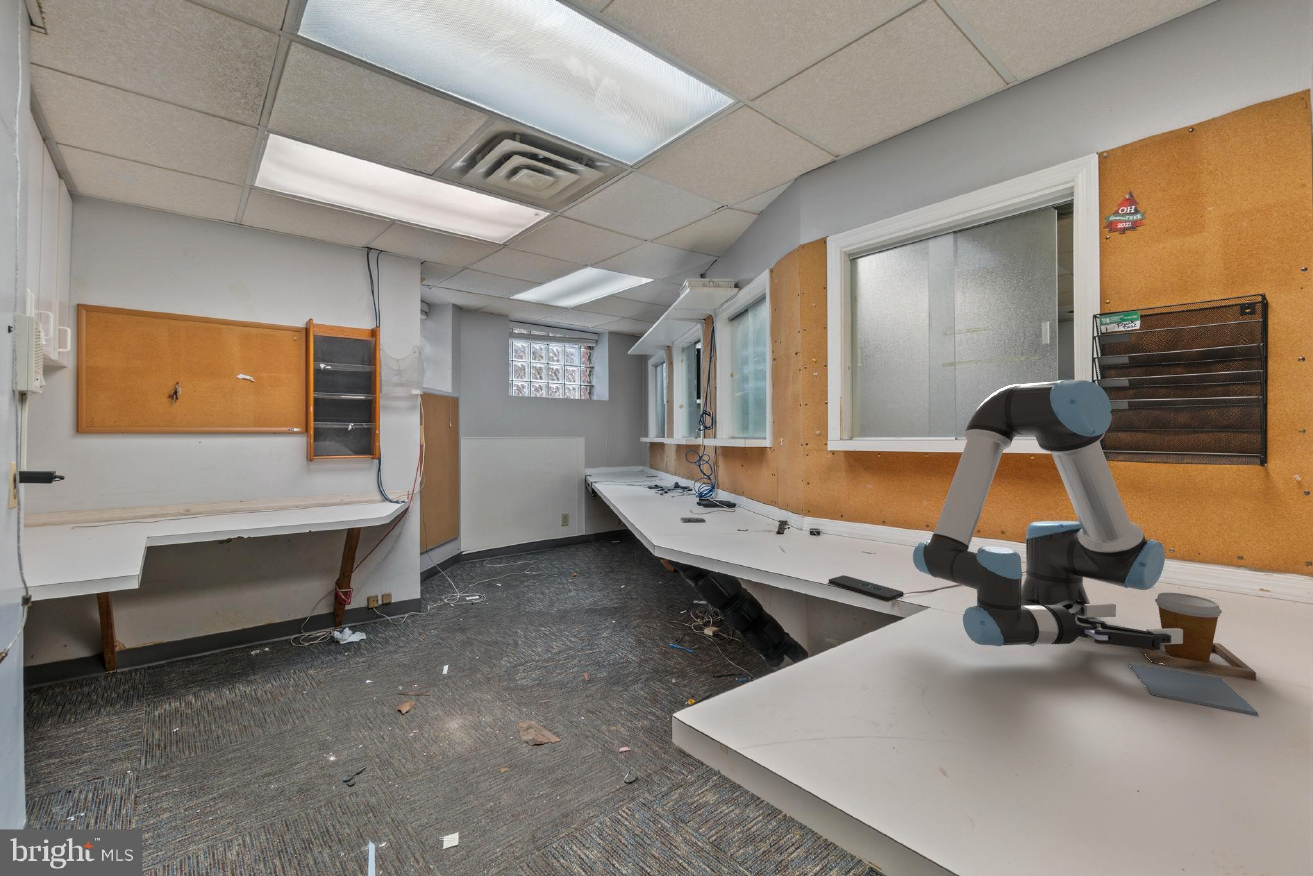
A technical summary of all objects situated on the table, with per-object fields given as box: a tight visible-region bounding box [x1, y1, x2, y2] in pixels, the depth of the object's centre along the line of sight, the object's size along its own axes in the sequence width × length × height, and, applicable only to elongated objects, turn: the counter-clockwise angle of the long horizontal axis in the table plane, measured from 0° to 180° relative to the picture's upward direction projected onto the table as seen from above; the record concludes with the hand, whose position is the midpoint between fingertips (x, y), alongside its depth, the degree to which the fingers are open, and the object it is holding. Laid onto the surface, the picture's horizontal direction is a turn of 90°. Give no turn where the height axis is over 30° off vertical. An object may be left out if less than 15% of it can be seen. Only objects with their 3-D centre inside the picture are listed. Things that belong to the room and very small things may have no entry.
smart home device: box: [828, 574, 905, 602], centre depth 149 cm, size 8×2×20 cm
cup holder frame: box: [1139, 641, 1257, 681], centre depth 104 cm, size 14×14×2 cm
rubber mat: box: [1128, 662, 1259, 716], centre depth 92 cm, size 13×13×1 cm
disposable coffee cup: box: [1154, 592, 1223, 663], centre depth 104 cm, size 10×10×12 cm
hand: (1145, 622), depth 104 cm, fingers open, 13 cm apart
